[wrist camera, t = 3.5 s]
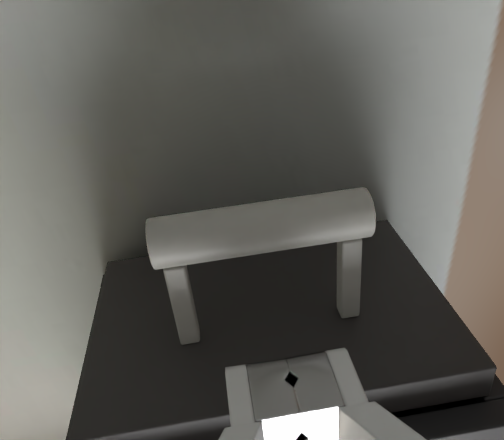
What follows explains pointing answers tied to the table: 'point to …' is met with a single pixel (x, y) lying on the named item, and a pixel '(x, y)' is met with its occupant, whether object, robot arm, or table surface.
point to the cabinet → (439, 414)
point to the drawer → (267, 317)
